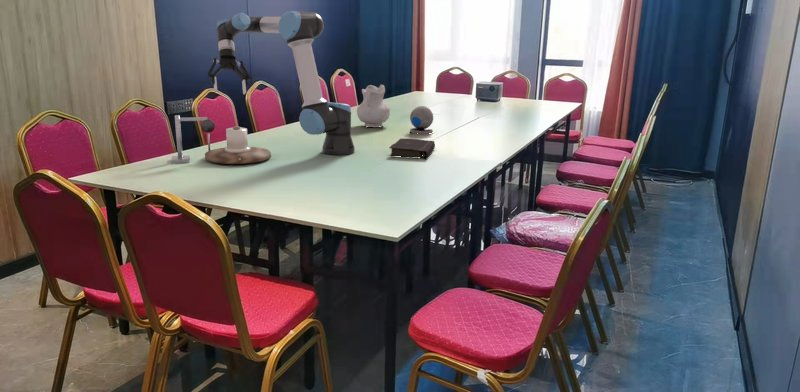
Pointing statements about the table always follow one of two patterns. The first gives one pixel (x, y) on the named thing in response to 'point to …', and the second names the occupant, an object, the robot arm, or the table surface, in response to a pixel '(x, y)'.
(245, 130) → the canister
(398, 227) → the table surface
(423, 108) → the webcam
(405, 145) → the diary
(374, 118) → the ceramic pitcher
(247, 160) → the turntable
